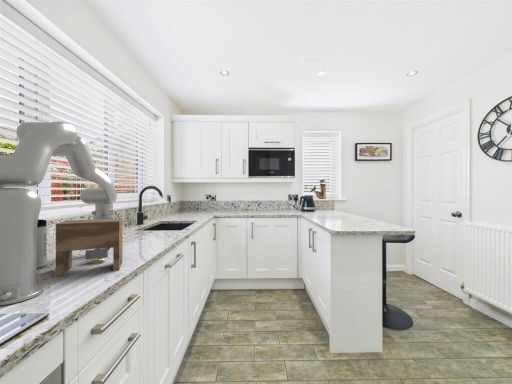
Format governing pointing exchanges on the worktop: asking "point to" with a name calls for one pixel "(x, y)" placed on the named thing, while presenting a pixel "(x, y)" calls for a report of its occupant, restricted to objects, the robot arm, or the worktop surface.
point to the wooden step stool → (87, 240)
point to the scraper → (97, 253)
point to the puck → (96, 260)
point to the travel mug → (41, 244)
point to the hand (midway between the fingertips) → (104, 250)
